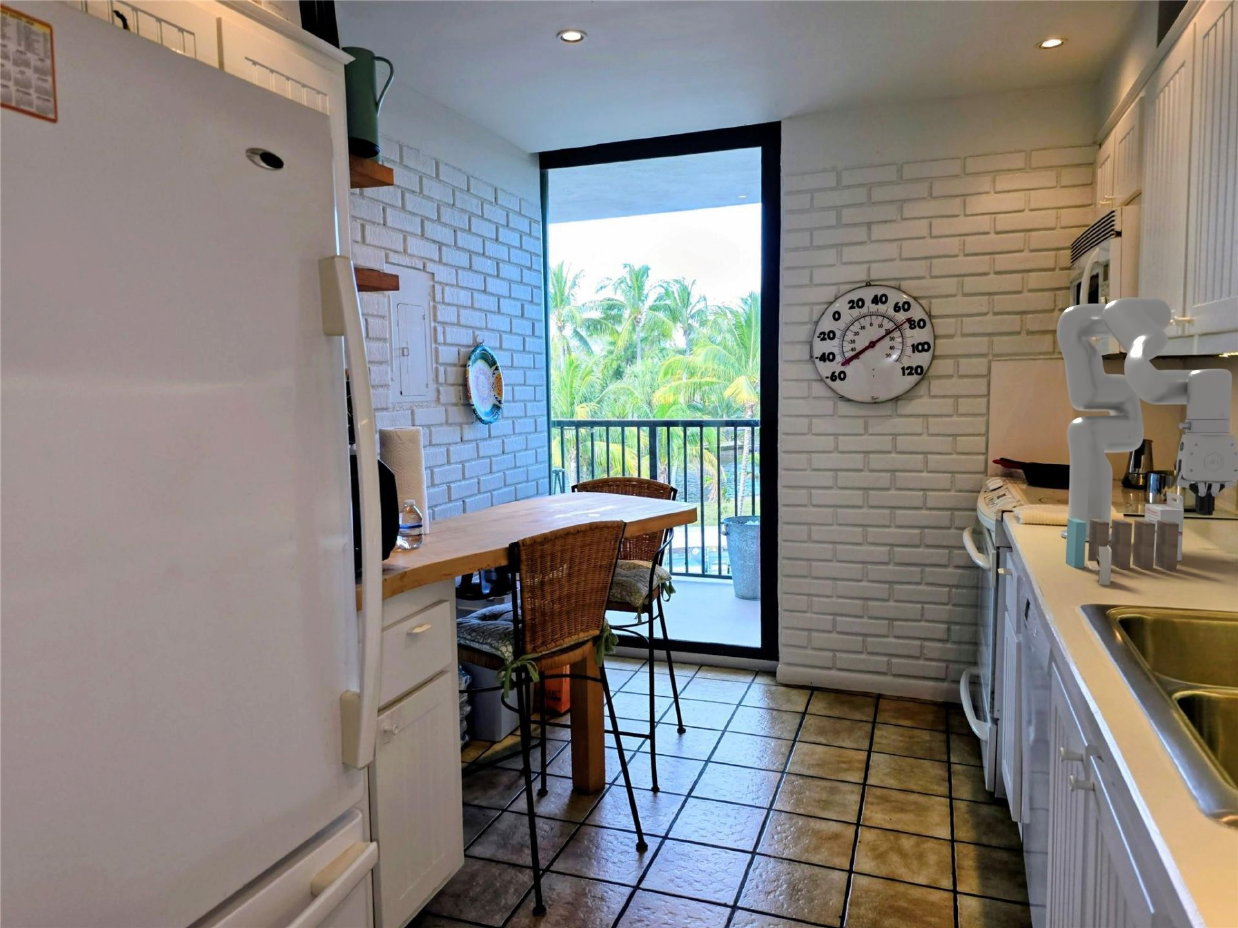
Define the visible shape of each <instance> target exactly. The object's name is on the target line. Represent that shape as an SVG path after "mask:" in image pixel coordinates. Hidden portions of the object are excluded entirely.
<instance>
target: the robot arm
mask: <svg viewBox="0 0 1238 928" xmlns="http://www.w3.org/2000/svg"><path fill="white" fill-rule="evenodd" d="M1171 320H1172V311H1171V308H1170V306H1169V305H1168V303H1167V302H1165V301H1164V300H1163V299H1160V298H1157V297H1122V298H1117V299H1114V300H1112V301H1110V302H1109V303H1084V304H1083V303H1082V304H1078V305H1077V304H1076V305H1073V306H1070V307H1068V308H1066V309H1065V310H1064V311H1063V312H1062V313H1061V315H1060V317H1059V319H1058V322H1057V326H1056V338H1057V343H1058V347H1059V349H1060V352H1061V355H1062V359H1063V361H1064V368H1065V377H1066V384H1067V391H1068V399H1069V402H1070V405H1071V407H1072V408H1073V409H1075V410H1076V411H1080V412H1081V411H1082V412H1109V415H1105V414H1101V415H1100V414H1099V415H1096V414H1095V415H1084V416H1080V417H1077V418H1075V419H1073V420H1072V421H1071V422H1070V423H1069V424H1068V426H1067V430H1066V438H1067V446H1068V450H1069V451H1068V452H1069V485H1068V487H1069V488H1068V489H1069V490H1068V491H1069V492H1068V512H1067V513H1068V514H1067V520H1068V519H1079V520H1082V521H1084V522H1086V542H1089V527H1090V519H1101V520H1103V521H1106V522H1108V523H1109V541H1108V542H1111V522H1112V519H1111V518H1112V517H1111V516H1112V498H1113V495H1112V494H1113V468H1112V464H1111V462H1110V461H1109V458H1108V457H1107V456H1106V453H1129V452H1133V451H1135V450H1138V449H1139V448H1140V447H1141V445H1142V443H1143V441H1144V437H1145V436H1144V435H1145V432H1144V431H1145V429H1144V420H1143V413H1142V407H1141V406H1142V405H1141V400H1142V401H1143V402H1144V403H1147V404H1150V405H1186V412H1185V413H1186V416H1185V419H1184V421H1183V422H1180V423H1179V425H1178V428H1179V429H1180V430H1184V432H1185V434H1182V436H1181V438H1180V442H1179V446H1178V449H1177V455H1176V456H1177V457H1176V470H1175V471H1176V477H1177V480H1176V486H1177V487H1182V488H1187V489H1188V490H1189V491H1190V492H1191V493H1192V495H1194V497H1195V498H1194V510H1195V511H1196V514H1197V515H1200V516H1213V515H1214V511H1215V508H1216V507H1215V506H1216V497H1217V496H1218V495H1219V493H1220V492H1222V490H1224V489H1228V488H1232V487H1235V486H1236V481H1237V480H1238V445H1237V439H1236V435H1235V434H1230V433H1231V411H1232V408H1231V407H1232V388H1233V387H1232V386H1233V385H1232V384H1233V383H1232V382H1233V380H1232V379H1233V376H1232V375H1233V374H1232V372H1231V371H1230V370H1228V369H1225V368H1205V369H1201V368H1200V369H1157V368H1156V367H1155V366H1154V365H1153V364H1152V363H1151V361H1150V360H1152V359H1154V358H1155V357H1157V356H1159V355H1160V354H1161V353H1162V352H1163V351H1164V350H1165V348H1166V346H1167V345H1168V341H1169V339H1168V335H1167V333H1166V332H1165V331H1164V330H1166V328H1167V327H1168V326H1169V324H1170V323H1171ZM1090 338H1101V339H1102V338H1114V339H1115V340H1116V341H1117V343H1118V344H1119V345H1120V346H1121V347H1122V349H1123V350H1124V351H1125V353H1126V354H1127V355H1126V358H1125V360H1124V364H1123V365H1124V366H1123V367H1124V369H1123V370H1124V371H1123V372H1124V374H1122V373H1121V374H1120V373H1118V374H1117V373H1115V374H1111V373H1109V374H1108V373H1106V372H1105V369H1104V363H1103V362H1104V360H1103V357H1102V355H1101V353H1100V350H1099V349H1098V347H1096V345H1095V344H1094V343H1093V342H1092V341H1091V340H1090ZM1205 483H1206V484H1205ZM1060 536H1061V537H1062V538H1065V539H1067V529H1062V530H1060Z"/></svg>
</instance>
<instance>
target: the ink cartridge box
mask: <svg viewBox="0 0 1238 928" xmlns="http://www.w3.org/2000/svg"><path fill="white" fill-rule="evenodd" d="M1173 499H1175V500H1177V501H1175V500H1173ZM1184 516H1185V510H1184V497H1183V495H1179V494H1176V493H1174V492H1169V491H1167V492H1166V503H1164V504H1163V503H1158V504H1157V503H1154V504H1153V503H1145V504H1144V520H1146V521H1149V522H1152V523H1155V524H1156V526H1155V544H1154V559H1155V551H1156V532H1157V520H1168V521H1171V522H1174V523H1177V524H1179V533H1178V551H1177V562H1179V561H1180V562H1181V561H1182V556H1183V555H1182V554H1183V553H1182V552H1183V533H1184Z"/></svg>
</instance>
